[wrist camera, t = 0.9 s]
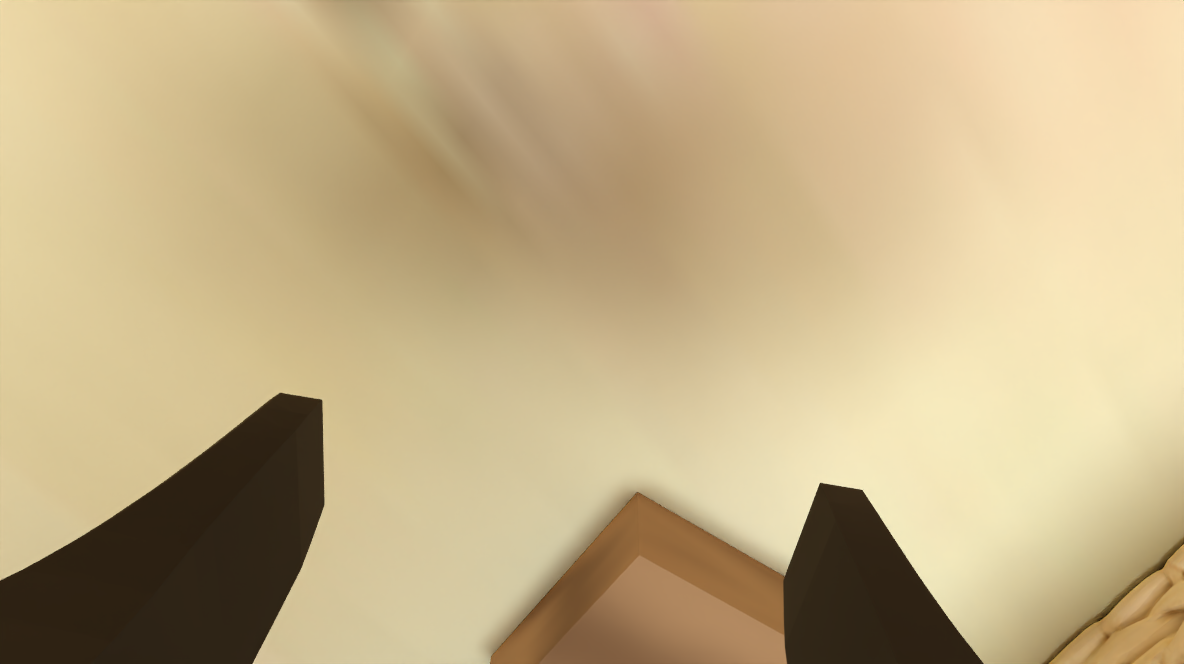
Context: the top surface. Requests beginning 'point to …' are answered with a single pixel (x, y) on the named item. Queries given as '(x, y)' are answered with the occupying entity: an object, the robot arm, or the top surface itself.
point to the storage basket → (1138, 624)
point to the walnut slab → (655, 600)
